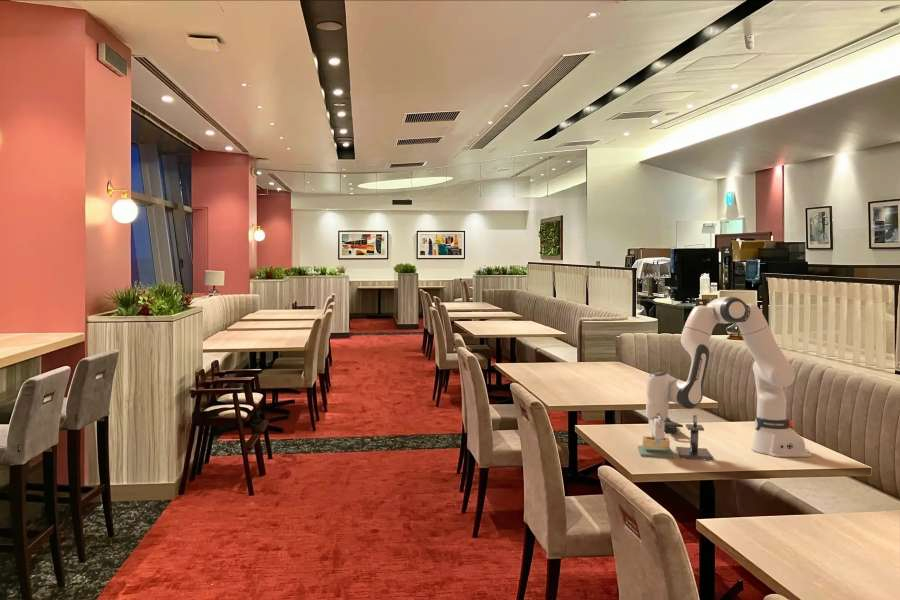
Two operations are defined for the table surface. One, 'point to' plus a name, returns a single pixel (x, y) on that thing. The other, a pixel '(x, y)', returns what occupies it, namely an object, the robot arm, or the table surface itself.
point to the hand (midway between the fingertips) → (656, 444)
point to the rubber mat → (656, 452)
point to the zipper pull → (670, 426)
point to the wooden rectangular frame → (650, 443)
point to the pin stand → (694, 444)
